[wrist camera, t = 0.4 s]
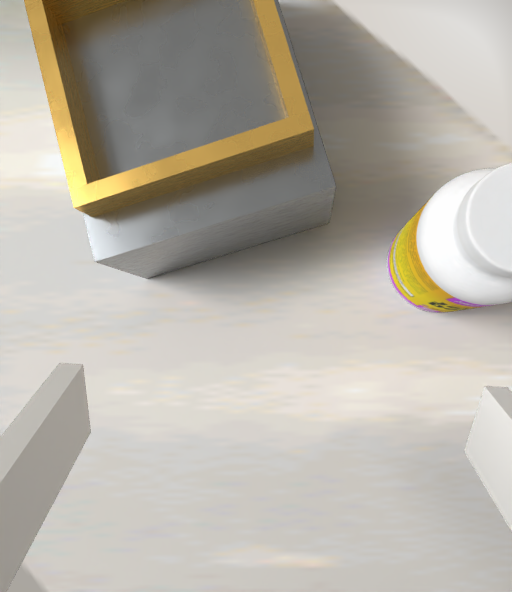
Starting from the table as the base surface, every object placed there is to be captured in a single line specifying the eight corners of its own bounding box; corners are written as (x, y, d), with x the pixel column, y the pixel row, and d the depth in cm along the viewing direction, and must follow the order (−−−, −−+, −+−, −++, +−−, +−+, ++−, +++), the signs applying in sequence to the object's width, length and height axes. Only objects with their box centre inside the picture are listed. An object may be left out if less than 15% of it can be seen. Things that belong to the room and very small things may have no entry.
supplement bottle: (399, 323, 30) (465, 317, 17) (373, 232, 31) (419, 162, 18) (498, 299, 29) (641, 275, 17) (469, 206, 30) (586, 115, 17)
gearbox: (329, 222, 31) (338, 172, 21) (146, 278, 33) (75, 255, 23) (250, -34, 34) (225, -186, 24) (82, 28, 35) (-7, -92, 25)
